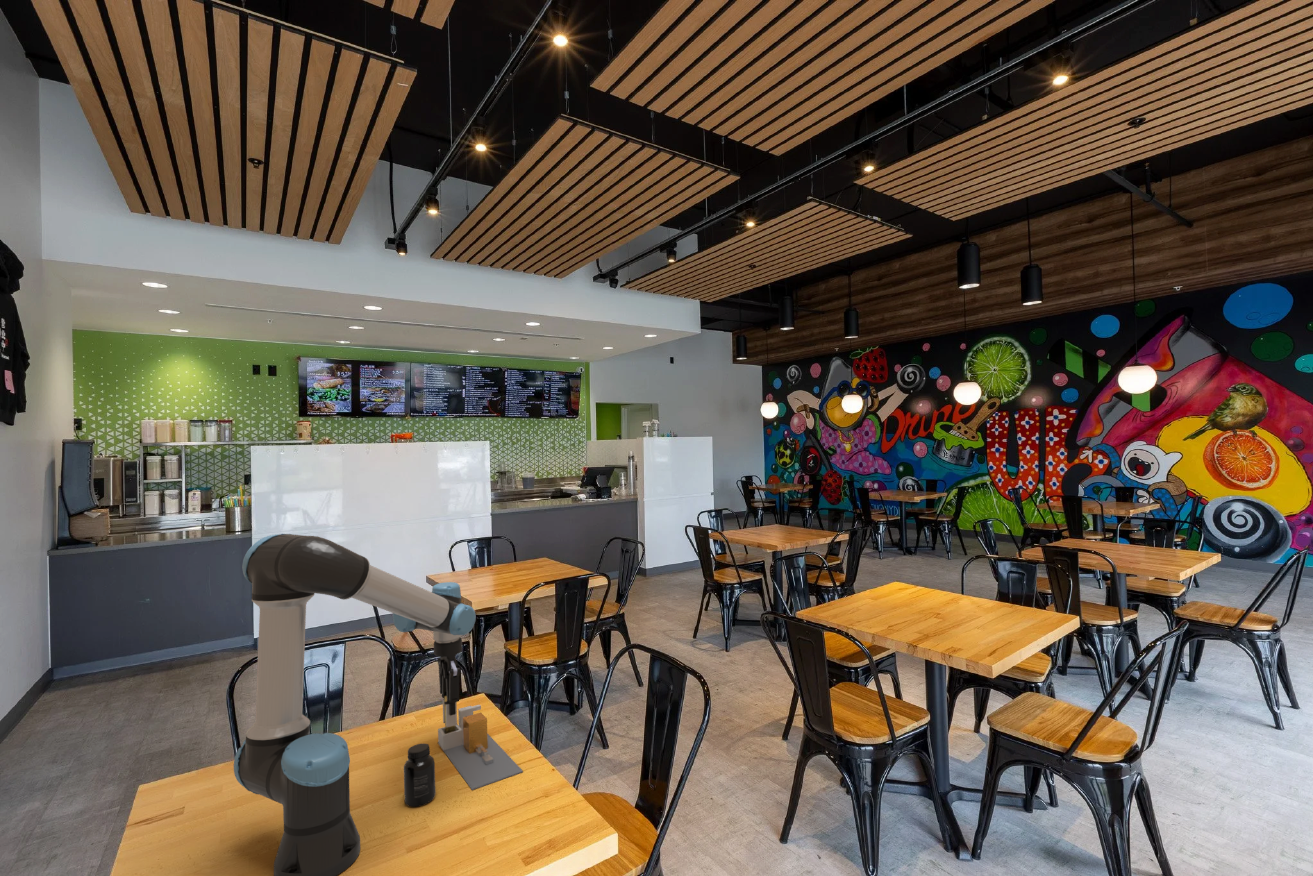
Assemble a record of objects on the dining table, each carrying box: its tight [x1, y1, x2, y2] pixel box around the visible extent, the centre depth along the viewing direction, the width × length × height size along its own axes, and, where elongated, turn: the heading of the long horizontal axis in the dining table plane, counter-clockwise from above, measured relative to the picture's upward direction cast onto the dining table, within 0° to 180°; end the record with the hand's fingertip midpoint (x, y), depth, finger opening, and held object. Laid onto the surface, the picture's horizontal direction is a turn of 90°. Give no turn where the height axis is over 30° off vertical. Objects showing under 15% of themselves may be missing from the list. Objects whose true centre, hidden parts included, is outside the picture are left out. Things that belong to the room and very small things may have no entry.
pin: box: [444, 695, 455, 734], centre depth 168 cm, size 3×3×12 cm
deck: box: [437, 704, 524, 791], centre depth 161 cm, size 30×13×8 cm, turn 35°
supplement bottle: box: [403, 742, 437, 808], centre depth 142 cm, size 7×7×12 cm
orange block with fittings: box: [463, 712, 493, 765], centre depth 162 cm, size 14×5×8 cm, turn 35°
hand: (450, 723), depth 168 cm, fingers closed on pin, 2 cm apart
